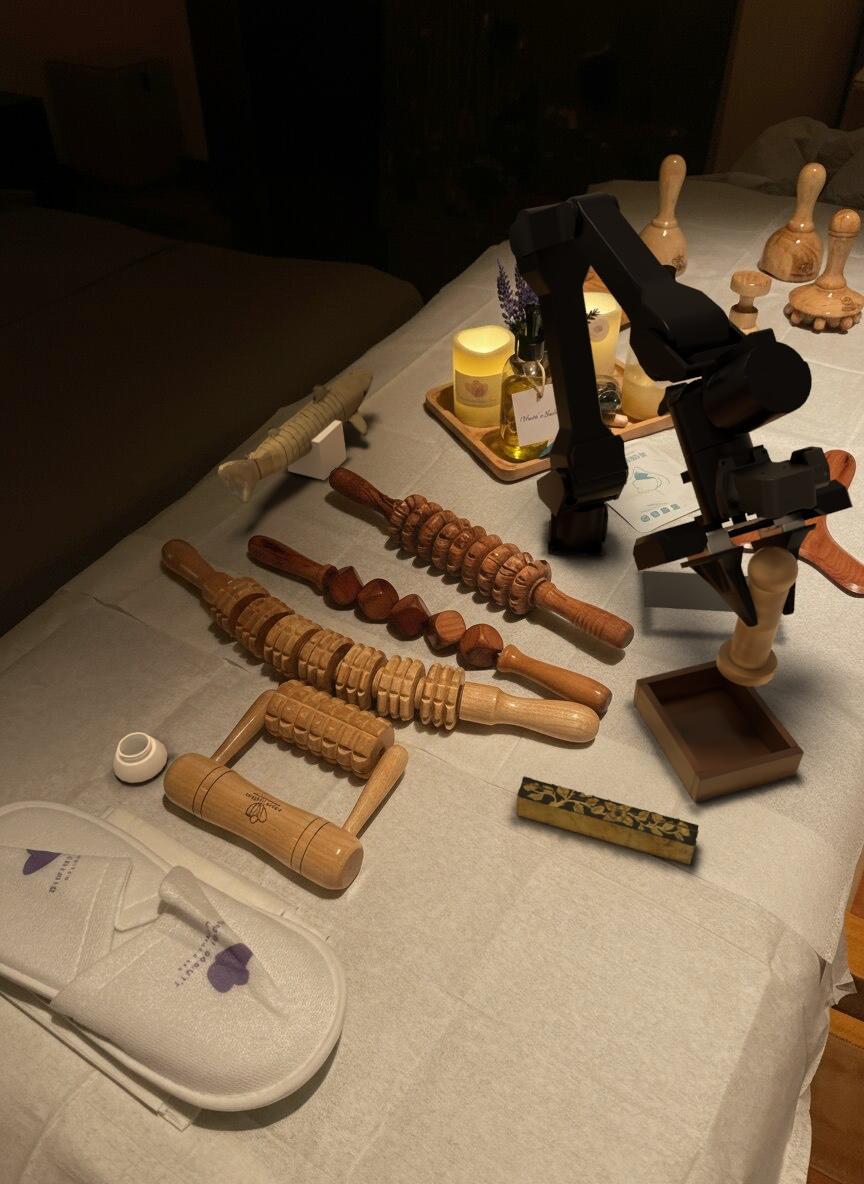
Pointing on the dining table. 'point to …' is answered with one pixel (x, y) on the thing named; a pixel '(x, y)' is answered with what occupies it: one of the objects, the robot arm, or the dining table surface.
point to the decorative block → (607, 820)
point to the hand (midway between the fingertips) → (770, 620)
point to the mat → (681, 592)
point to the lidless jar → (139, 758)
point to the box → (715, 731)
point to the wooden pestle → (759, 619)
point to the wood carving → (305, 437)
